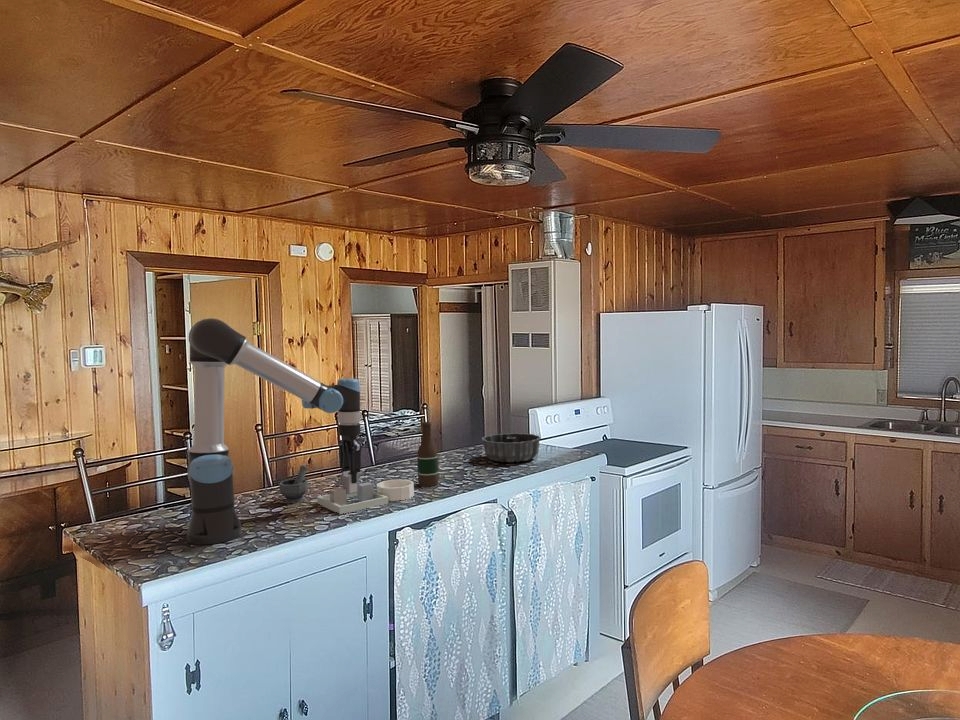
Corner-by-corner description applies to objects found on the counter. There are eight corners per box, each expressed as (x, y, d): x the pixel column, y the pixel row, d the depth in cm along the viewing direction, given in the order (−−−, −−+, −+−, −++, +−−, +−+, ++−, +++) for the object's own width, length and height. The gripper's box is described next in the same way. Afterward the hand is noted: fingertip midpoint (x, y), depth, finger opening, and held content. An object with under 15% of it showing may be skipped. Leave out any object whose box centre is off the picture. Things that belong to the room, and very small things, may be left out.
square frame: (340, 514, 213) (339, 507, 213) (317, 503, 227) (316, 496, 227) (388, 503, 224) (388, 496, 224) (363, 494, 238) (363, 487, 238)
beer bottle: (442, 484, 249) (440, 421, 248) (427, 488, 244) (425, 424, 242) (429, 481, 255) (427, 420, 253) (414, 485, 249) (411, 422, 248)
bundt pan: (486, 453, 307) (485, 432, 306) (542, 453, 303) (541, 432, 303) (478, 465, 281) (477, 442, 280) (539, 465, 277) (539, 442, 277)
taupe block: (334, 509, 219) (334, 491, 219) (330, 507, 222) (329, 489, 222) (347, 506, 222) (346, 489, 222) (342, 504, 225) (341, 487, 224)
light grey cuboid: (362, 503, 226) (361, 486, 225) (358, 501, 228) (357, 484, 228) (374, 500, 228) (373, 483, 228) (369, 498, 231) (368, 482, 231)
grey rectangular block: (347, 494, 222) (346, 476, 222) (342, 492, 225) (342, 475, 225) (359, 492, 225) (358, 475, 225) (354, 490, 228) (354, 473, 227)
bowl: (389, 503, 224) (388, 490, 224) (370, 496, 235) (370, 483, 234) (420, 496, 232) (420, 483, 232) (401, 489, 243) (401, 477, 242)
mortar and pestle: (292, 506, 224) (291, 471, 224) (274, 502, 229) (272, 469, 229) (317, 498, 234) (315, 465, 233) (299, 495, 239) (297, 463, 238)
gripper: (370, 425, 220) (371, 494, 221) (348, 420, 233) (349, 485, 234) (350, 427, 215) (351, 497, 216) (328, 421, 228) (329, 488, 229)
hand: (350, 491), depth 225 cm, fingers closed on grey rectangular block, 3 cm apart
